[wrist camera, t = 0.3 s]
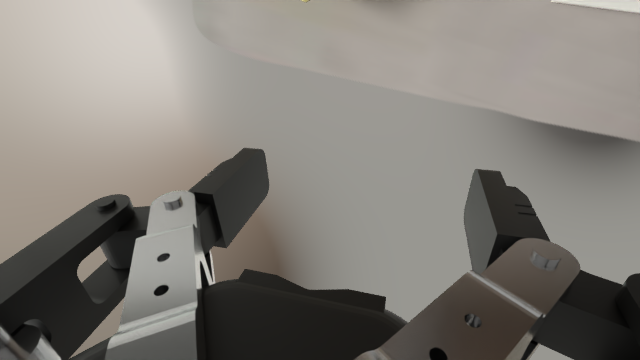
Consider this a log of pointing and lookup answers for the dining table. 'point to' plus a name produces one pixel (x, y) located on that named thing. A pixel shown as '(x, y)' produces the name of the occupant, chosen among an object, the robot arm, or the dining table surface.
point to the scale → (606, 4)
